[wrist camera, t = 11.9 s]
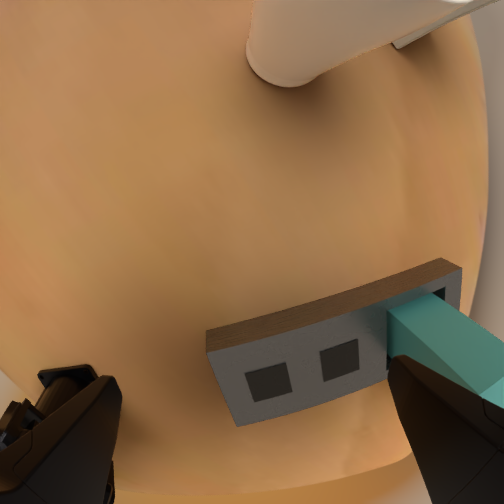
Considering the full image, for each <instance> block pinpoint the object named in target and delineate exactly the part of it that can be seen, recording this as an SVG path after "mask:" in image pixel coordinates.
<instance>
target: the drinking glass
mask: <svg viewBox="0 0 504 504" xmlns="http://www.w3.org/2000/svg"><path fill="white" fill-rule="evenodd" d="M472 1H473V0H253V3H252V12H251V21H250V30H249V35H248V38H247V42H246V56H247V60H248V62H249V64H250V66H251V68H252V69H253V71H254V72H255V73H256V74H257V75H258V76H259V77H261V78H262V79H264V80H265V81H267V82H269V83H271V84H274V85H277V86H281V87H297V86H301V85H304V84H307V83H309V82H310V81H312V80H313V79H315V78H316V77H317V76H319V75H320V74H322V73H324V72H326V71H328V70H330V69H332V68H334V67H336V66H338V65H340V64H343V63H345V62H347V61H349V60H351V59H353V58H356V57H358V56H360V55H363V54H365V53H367V52H370V51H372V50H374V49H377V48H379V47H382V46H384V45H387V44H389V43H391V42H394V41H396V40H398V39H401V38H403V37H405V36H407V35H409V34H411V33H413V32H415V31H417V30H420V29H421V28H423V27H425V26H427V25H429V24H431V23H433V22H435V21H437V20H439V19H441V18H443V17H444V16H446V15H448V14H450V13H452V12H453V11H455V10H457V9H459V8H460V7H462V6H464V5H466V4H468V3H470V2H472Z"/></svg>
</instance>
